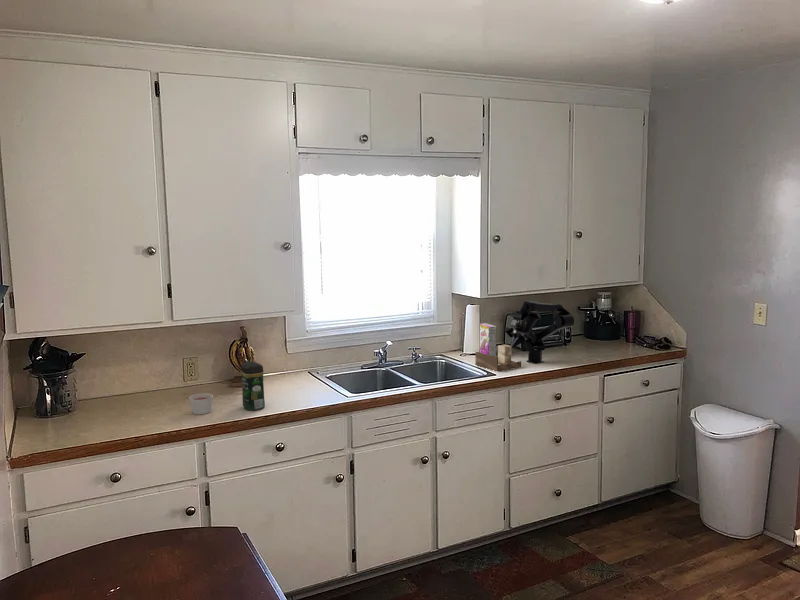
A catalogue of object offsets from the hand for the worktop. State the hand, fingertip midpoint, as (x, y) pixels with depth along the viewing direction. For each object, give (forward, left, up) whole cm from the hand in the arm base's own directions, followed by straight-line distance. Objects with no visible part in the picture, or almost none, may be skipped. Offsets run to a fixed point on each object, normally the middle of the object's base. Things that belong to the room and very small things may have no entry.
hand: (511, 347), depth 332 cm
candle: (+155, -9, -9) cm, 156 cm away
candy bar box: (-5, -24, -9) cm, 26 cm away
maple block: (+5, 0, -7) cm, 8 cm away
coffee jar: (+136, -3, -9) cm, 136 cm away
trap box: (+9, 0, -9) cm, 12 cm away
